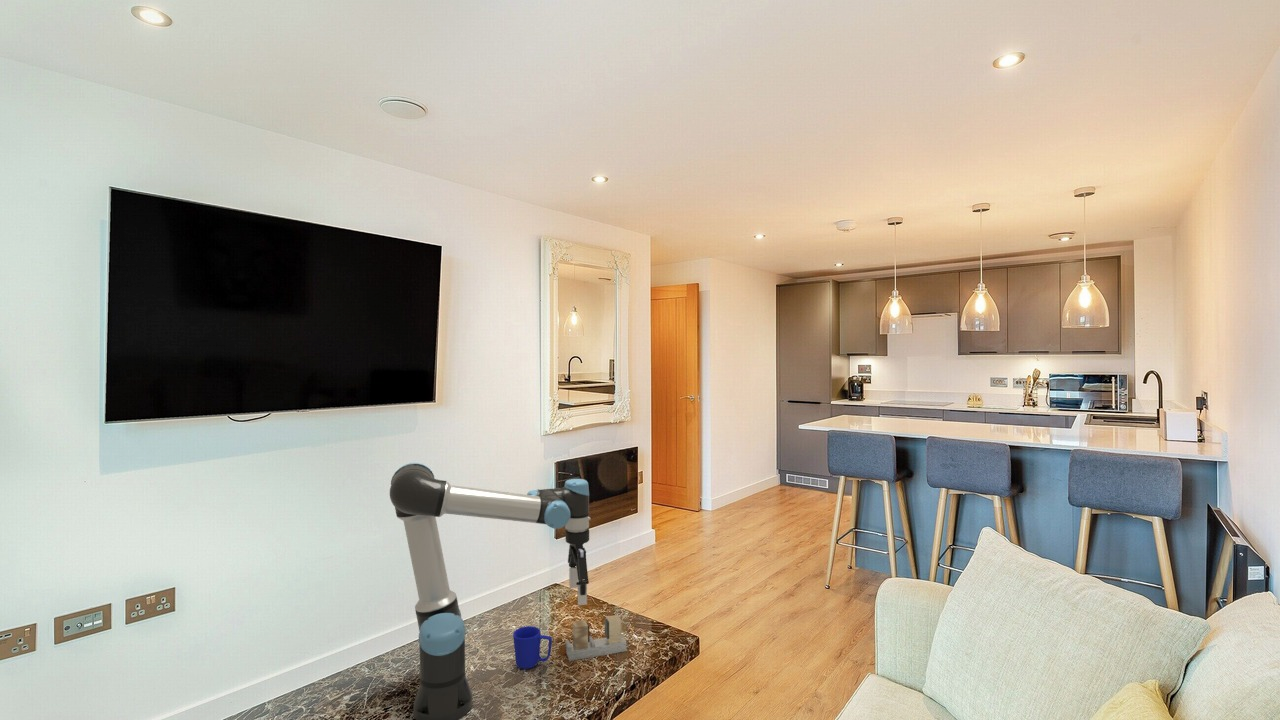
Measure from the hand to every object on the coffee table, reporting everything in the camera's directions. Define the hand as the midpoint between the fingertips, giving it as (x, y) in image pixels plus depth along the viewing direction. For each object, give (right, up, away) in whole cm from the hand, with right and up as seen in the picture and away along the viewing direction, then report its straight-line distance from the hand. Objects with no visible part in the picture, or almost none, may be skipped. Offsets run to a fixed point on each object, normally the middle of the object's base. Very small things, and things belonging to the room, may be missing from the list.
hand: (577, 595), depth 185 cm
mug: (-13, -19, -6) cm, 24 cm away
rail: (+6, -19, +2) cm, 20 cm away
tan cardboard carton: (+1, -16, 0) cm, 16 cm away
